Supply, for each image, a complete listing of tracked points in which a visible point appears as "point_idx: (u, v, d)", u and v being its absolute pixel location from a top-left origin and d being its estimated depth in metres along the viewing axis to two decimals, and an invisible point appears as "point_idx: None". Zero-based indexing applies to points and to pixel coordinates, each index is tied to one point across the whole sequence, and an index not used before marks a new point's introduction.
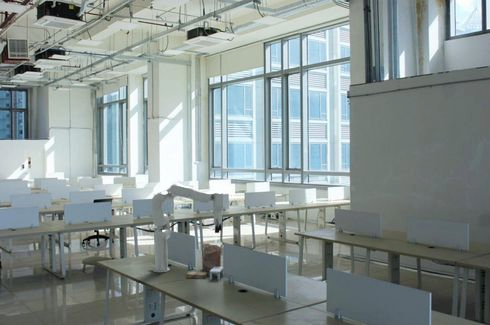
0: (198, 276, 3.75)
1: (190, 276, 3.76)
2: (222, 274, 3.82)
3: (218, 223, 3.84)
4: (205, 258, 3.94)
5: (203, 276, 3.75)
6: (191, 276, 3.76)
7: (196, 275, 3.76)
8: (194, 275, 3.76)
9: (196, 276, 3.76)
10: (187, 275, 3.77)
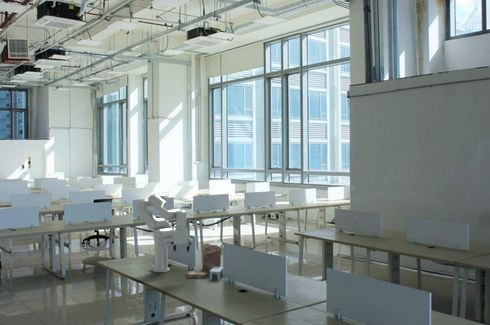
0: (198, 276, 3.75)
1: (190, 276, 3.76)
2: (222, 274, 3.82)
3: None
4: (205, 258, 3.94)
5: (203, 276, 3.75)
6: (191, 276, 3.76)
7: (196, 275, 3.76)
8: (194, 275, 3.76)
9: (196, 276, 3.76)
10: (187, 275, 3.77)
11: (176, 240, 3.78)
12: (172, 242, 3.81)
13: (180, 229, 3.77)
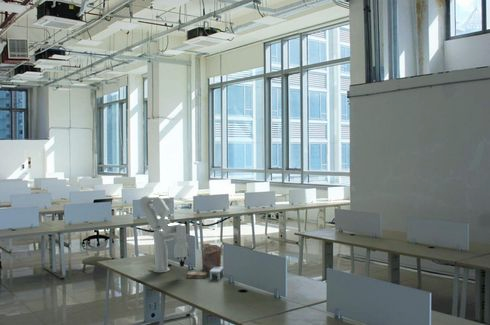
0: (198, 276, 3.75)
1: (190, 276, 3.76)
2: (222, 274, 3.82)
3: None
4: (205, 258, 3.94)
5: (203, 276, 3.75)
6: (191, 276, 3.76)
7: (196, 275, 3.76)
8: (194, 275, 3.76)
9: (196, 276, 3.76)
10: (187, 275, 3.77)
11: (176, 253, 3.78)
12: (178, 257, 3.80)
13: (180, 242, 3.77)
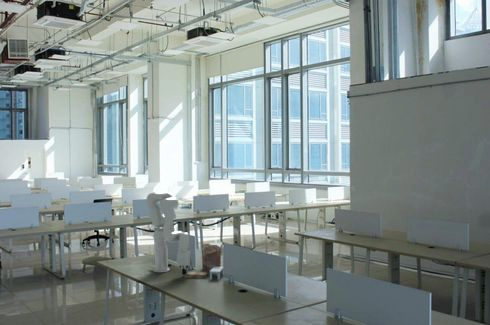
0: (198, 276, 3.75)
1: (190, 276, 3.76)
2: (222, 274, 3.82)
3: None
4: (205, 258, 3.94)
5: (203, 276, 3.75)
6: (191, 276, 3.76)
7: (196, 275, 3.76)
8: (194, 275, 3.76)
9: (196, 276, 3.76)
10: (187, 275, 3.77)
11: (179, 262, 3.79)
12: None
13: (183, 251, 3.77)
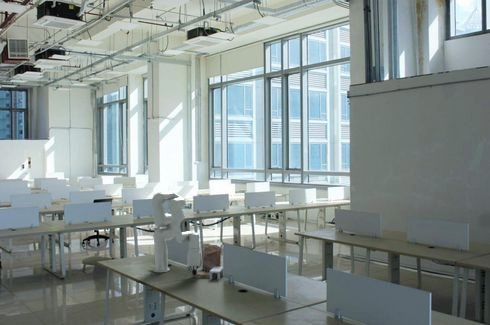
0: (207, 276, 3.75)
1: (199, 276, 3.76)
2: (222, 274, 3.82)
3: None
4: (205, 258, 3.94)
5: (213, 276, 3.75)
6: (200, 276, 3.76)
7: (205, 275, 3.75)
8: (203, 275, 3.75)
9: (205, 276, 3.75)
10: (196, 275, 3.76)
11: (189, 262, 3.77)
12: None
13: (193, 251, 3.75)
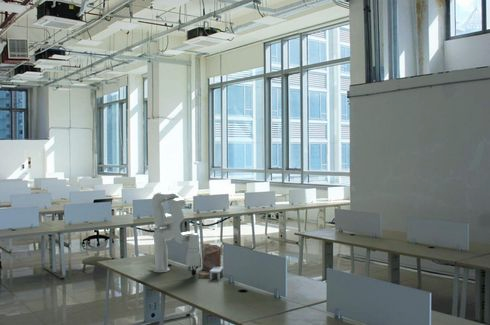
0: None
1: (202, 276, 3.76)
2: (222, 274, 3.82)
3: None
4: (205, 258, 3.94)
5: (215, 276, 3.75)
6: (203, 276, 3.76)
7: (208, 275, 3.75)
8: (206, 275, 3.76)
9: (208, 276, 3.75)
10: (199, 275, 3.77)
11: (188, 263, 3.77)
12: None
13: (192, 252, 3.76)
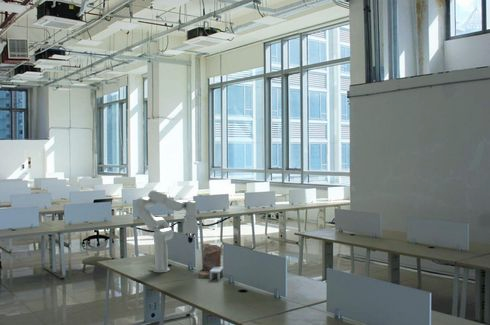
0: None
1: (202, 276, 3.76)
2: (222, 274, 3.82)
3: None
4: (205, 258, 3.94)
5: (215, 276, 3.75)
6: (203, 276, 3.76)
7: (208, 275, 3.76)
8: (206, 275, 3.76)
9: (208, 276, 3.76)
10: (199, 275, 3.77)
11: (185, 230, 3.83)
12: None
13: (189, 219, 3.81)
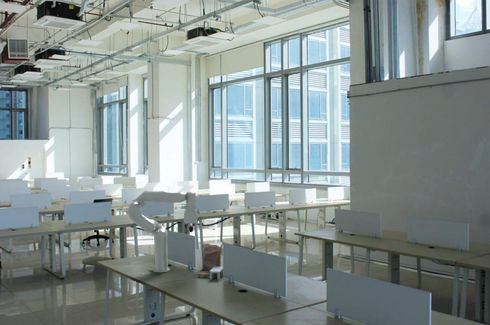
0: (209, 275, 3.75)
1: (202, 276, 3.77)
2: (222, 274, 3.82)
3: None
4: (205, 258, 3.94)
5: (215, 276, 3.75)
6: (203, 276, 3.76)
7: (208, 275, 3.76)
8: (206, 275, 3.76)
9: (208, 276, 3.76)
10: (199, 275, 3.77)
11: (186, 220, 3.96)
12: None
13: (190, 209, 3.94)
